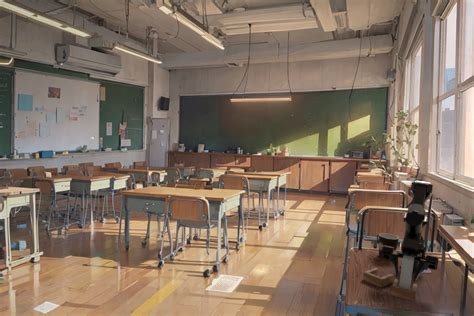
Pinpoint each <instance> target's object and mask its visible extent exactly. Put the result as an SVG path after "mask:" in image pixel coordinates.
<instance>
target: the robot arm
mask: <svg viewBox="0 0 474 316" xmlns="http://www.w3.org/2000/svg"><path fill="white" fill-rule="evenodd" d="M433 187H434V184H432V183H431V182H429V181H422V180H415V181H411V184H410V191H411V192H412V197H413V198H412V203H411V205H410V206H409V207H408V208H407V212H405V213H404V217H403V222H404V229H405V231H404V235H403V240H402V243H401V247H400V251H401V252H400V251H398V250H397V249H396V250H394V247H390V246H385V245H384V246H383V247H382V251H381V252H382V258H383V260H385V259H388V260H387V261H389V262H390V263H392V265H393V268H394V274H395V277H396V278H398V275H399V269H401V266H402V265H400V266H399V259H402V258H403V256H404V255H406V256H411V257H414V264H413V271H412V274H414V273H415V274H414V279H413V281H414V282H416V281H417V280H418V278H419V277H420V275H421V274H422V273H423V272H424V271H427V270H434V271H437V270H438V267H439V266H438V265H439V257H438V256H437V255H432V254H428V253H427V248H426V246H425V239H424V238H423V235H422V234H423V233H422V232H423V231H422V230H423V228H424V227H426V225H428V224H429V219H428V217H427V215H426V209H425V203H426V202H427V201H428V200H429V199H430V197H431V194H433V190H434V188H433ZM426 253H427V254H426ZM382 258H381V259H382Z"/></svg>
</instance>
